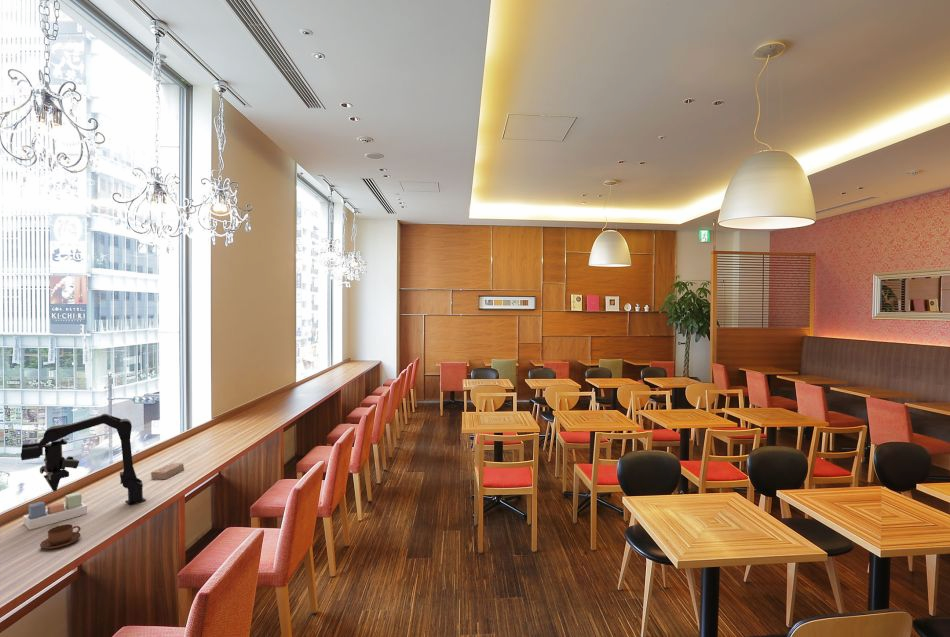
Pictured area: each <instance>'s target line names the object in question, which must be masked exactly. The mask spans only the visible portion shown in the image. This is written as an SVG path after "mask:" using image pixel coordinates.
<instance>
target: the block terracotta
mask: <svg viewBox="0 0 950 637" xmlns="http://www.w3.org/2000/svg"><path fill="white" fill-rule="evenodd" d="M64 505H65V504H64V502H62V501H58V502H55V503H50V504H48V505H46V506H47V509H48V513H49V514H53V513H56V512H60V511H64Z"/></svg>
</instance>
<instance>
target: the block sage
mask: <svg viewBox="0 0 950 637" xmlns="http://www.w3.org/2000/svg"><path fill="white" fill-rule="evenodd" d="M64 496H65V499H64V500H65V505H66V508H67V509H71V508H74V507H78V506H82V503H83V501H82V494H81V493H80V492H79V491H78V492H73V493H70V494H65V495H64Z"/></svg>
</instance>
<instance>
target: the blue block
mask: <svg viewBox="0 0 950 637" xmlns="http://www.w3.org/2000/svg"><path fill="white" fill-rule="evenodd" d="M27 508H28V509H27V510H28V515H29V519H30V520H31V519H34V518H38V517H42V516H45V515H46V511H45V510H46V503H45V502H44V501H38V502H34V503H30V504H28V507H27Z"/></svg>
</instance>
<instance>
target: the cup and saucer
mask: <svg viewBox="0 0 950 637" xmlns="http://www.w3.org/2000/svg"><path fill="white" fill-rule="evenodd" d="M76 528H77V529H78V530H77V531H73V530H75V529H76ZM80 532H81V526H79V525H75V526H73V524H61V525H57V526H55V527H52V528H49V530H47V538H46V539H44V540H42V541H41V542H40V543H39V546H40V547H41V548H42V549H46V550H53V549H59V548H62V547H66V546H68V545H70V544H74V543H75V542H76V541H77V540H79V538H80V537H81V533H80Z"/></svg>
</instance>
